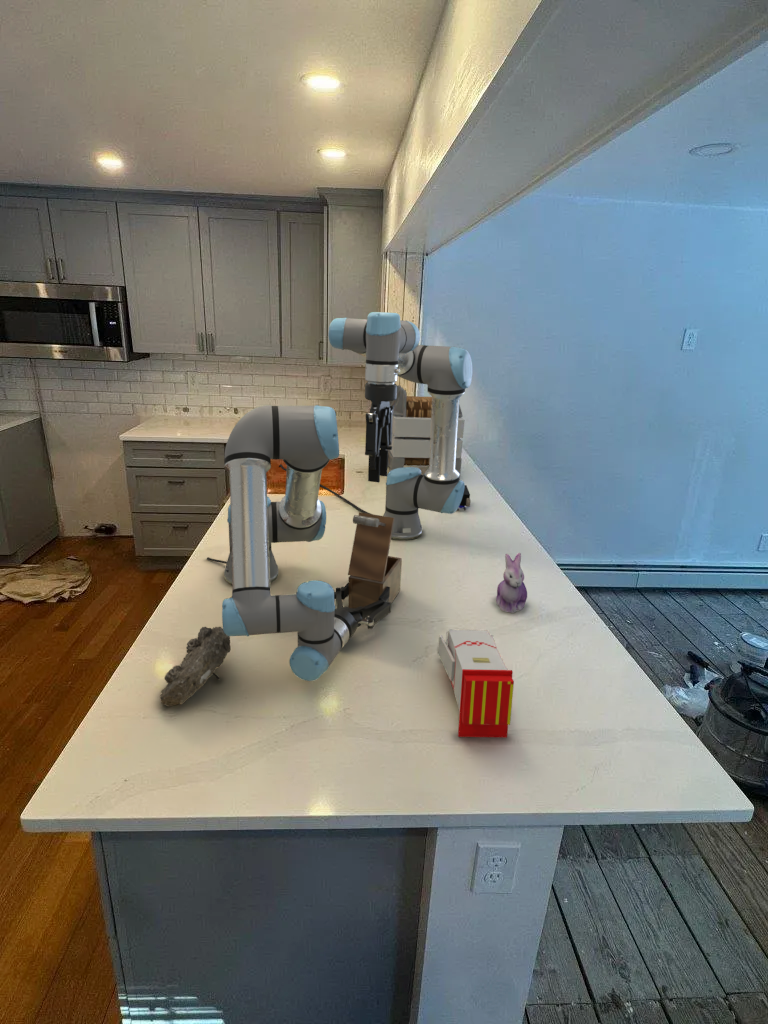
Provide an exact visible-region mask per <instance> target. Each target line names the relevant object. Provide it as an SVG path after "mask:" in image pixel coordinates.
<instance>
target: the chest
mask: <svg viewBox="0 0 768 1024" xmlns="http://www.w3.org/2000/svg"><path fill="white" fill-rule="evenodd" d="M402 560H403V558H402V557H397V556H391V555H388V560H387V566H386V572H385V577H384V582H381V581H376V580H371V579H366V578H361V577H356V576H351V575H348V582H349V595H348V596H347V598H348V600H347V601H348V603H347V605H348V606H347V607H349V608H357V607H360V606H361V607H364V606H367V605H369V604H372V603H374V602H376V601H378V599H379V597H380V595H381V594H382V593H383V592H384V590H385V589H386V588H387V587H390V595H389V602H391V605H392V604H393V602H394V601H395V599H396V597H398V594H399V593H400V591H401V588H402V587H401V585H402V584H401V582H402V564H403V561H402Z"/></svg>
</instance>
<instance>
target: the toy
mask: <svg viewBox="0 0 768 1024" xmlns="http://www.w3.org/2000/svg"><path fill="white" fill-rule="evenodd" d="M446 640H447V643H446V641H445V639H444V636H443V635H442V634H439V637H438V646H437V656H438V657H439V659H440V661H441V663H442V666H443V668H444V670H445V672H446V674H447V677H448V679H449V681H450V684H451V687H452V690H453V693H454V697H455V701H456V705H457V708H458V711H459V714H458V715H459V716H458V730H457V731H458V732H457V737H458V738H508V731H509V726H510V725H511V717H512V707H513V697H514V696H513V695H514V684H515V680H514V679H513V673H514V671H513V670H512V669H508V667H507V665H506V662H505V661H504V659H503V658H502V655H501V653H500V651H499V649H498V647H497V643H496V639H495V637H494V635H493V634H491V632H490V631H489V629H467V628H466V629H465V628H463V629H461V628H460V629H459V628H448V630H447V639H446Z"/></svg>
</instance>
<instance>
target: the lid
mask: <svg viewBox="0 0 768 1024" xmlns="http://www.w3.org/2000/svg"><path fill="white" fill-rule="evenodd" d="M394 520H395V518H392V517H385V516H383V515H380V514H379V515H378V514H373V513H370V514H367V513H362V512H361V511H359V512H358V514H354V515H353V517H352V523H353V524H356V526H355V532H354V538H353V543H352V550H351V555H350V561H349V566H348V572H347V576H350V575H351V576H356V577H361V578H366V579H371V580H376V581H381V582H384V577H385V572H386V566H387V560H388V556H389V553H390V548H391V543H392V539H391V537H392V531H393V526H394Z"/></svg>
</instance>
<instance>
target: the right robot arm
mask: <svg viewBox="0 0 768 1024" xmlns="http://www.w3.org/2000/svg"><path fill="white" fill-rule="evenodd" d="M328 341H329V343H330V346H331V347H332V348H334V349H338V350H342V351H344V350H347V351H351V352H354V353H356V354H358V355H360V356H362V357H364V358H365V369H364V380H365V381H366V383H365V384H364V398H365V399H366V400H367V401H370V402H371V405H370V408H369V412H365V444H364V445H365V449H364V455H365V456H368V467H367V468H368V469H367V471H368V472H367V482H371V483H377V484H379V483H380V482H381V481H380V479H381V477H386V482H385V504H384V505H385V507H384V508H385V509H384V513H383V515H382V516H385V517H392V518H395V520H394V526H393V531H392V537H391V540H395V541H410V540H415V539H418V538H420V537H421V536H422V535H423V525H422V524H421V518H420V515H419V509H420V510H424V511H425V510H426V511H430V512H436V513H440V514H449V515H452V514H454V513H456V512H457V511H458V510H457V509H459V505H460V503H461V500H462V497H463V493H464V488H465V485H466V484H465V481H464V480H462V479H460V481H459V472H458V471H457V470H456V469H455V464H456V447H457V431H458V415H459V405H460V398H461V397H462V396H464V394H465V393H466V389H468V388H470V386H471V384H472V379H473V361H472V356H471V354H470V352H469V351H468V350H467V349H466V348H461V347H455V346H448V345H447V346H445V345H426V344H420V341H421V333H420V329H419V328H418V326H417V324H415V323H414V322H412V321H409V320H401V315H400V314H399V313H397V312H388V311H387V312H383V311H381V312H380V311H371V312H369V313H368V314H367V317H366V319H365V318H352V317H350V318H349V317H346V316H345V317H336V318H333V320H331V322H330V323H329V327H328ZM398 378H401V379H403V380H405V381H407V382H408V381H409V382H411V383H416V384H420V385H427V393H428V395H430V397H432V411H431V436H430V461H429V465H428V468H427V469H426V470H424V474H422V470H421V468H419V467H416V466H406V467H405V466H404V467H403V468H397V469H393V470H391V471H390V470H389V471H388V468H389V467H388V450H392V446H389V445H391V444H392V421H393V410H394V406H390V402H389V401H394V400H396V399H397V386H398V384H397V382H398ZM278 468H281V469H282V470H283V471H285V472H286V471H287V467H286V468H285V466H284V465H283V464H281V463H280V464H278ZM319 488H322V489H324V490H326V491H327V492H329V493H331V494H333V495H334V496H336V497H337V498H339V499H341V500H342V501H344V502H345V503H347V504H348V505H350V506H352V508H355V509H356V510H357V511H359V512H361V513H367V514H371V513H370V512H369V511H366V510H364V509H362V508H360V507H359V506H358V505H356V504H354V503H353V502H351V501H350V500H348V499H347V498H345V497H343V496H342V495H341V494H339V493H337V492H336V491H334V490H332V489H330V488H329V487H327V486H324V485H322V484H321V483H320V487H319Z"/></svg>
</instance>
